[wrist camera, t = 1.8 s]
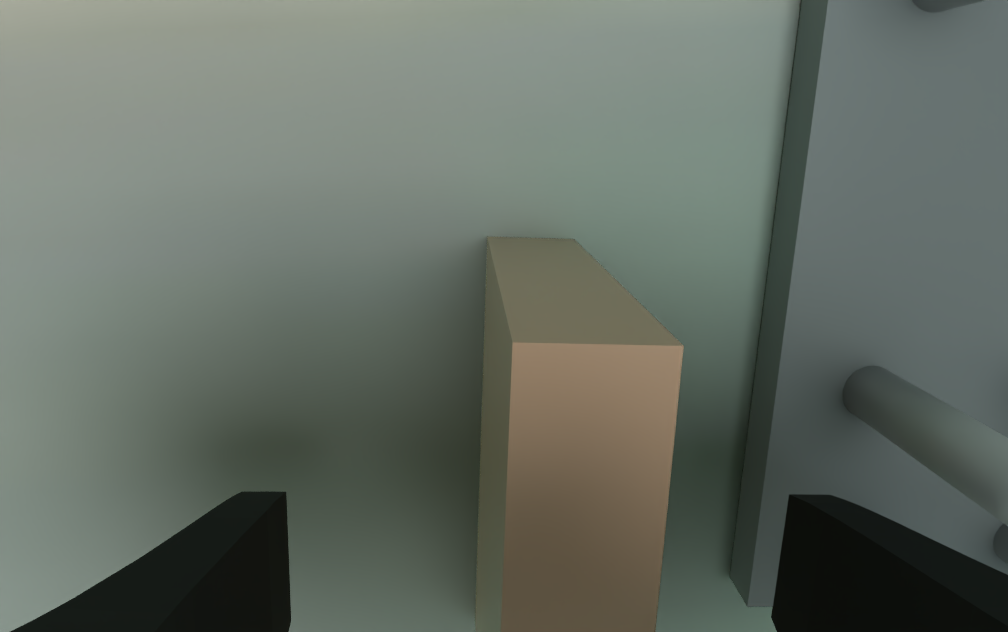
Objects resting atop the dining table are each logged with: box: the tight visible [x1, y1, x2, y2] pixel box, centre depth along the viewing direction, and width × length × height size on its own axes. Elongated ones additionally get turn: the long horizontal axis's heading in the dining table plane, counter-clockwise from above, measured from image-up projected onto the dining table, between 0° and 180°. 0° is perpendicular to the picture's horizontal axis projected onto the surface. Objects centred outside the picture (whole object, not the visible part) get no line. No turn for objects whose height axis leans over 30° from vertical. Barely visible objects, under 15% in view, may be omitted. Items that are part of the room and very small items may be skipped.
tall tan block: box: [475, 237, 684, 632], centre depth 11 cm, size 8×2×7 cm, turn 178°
